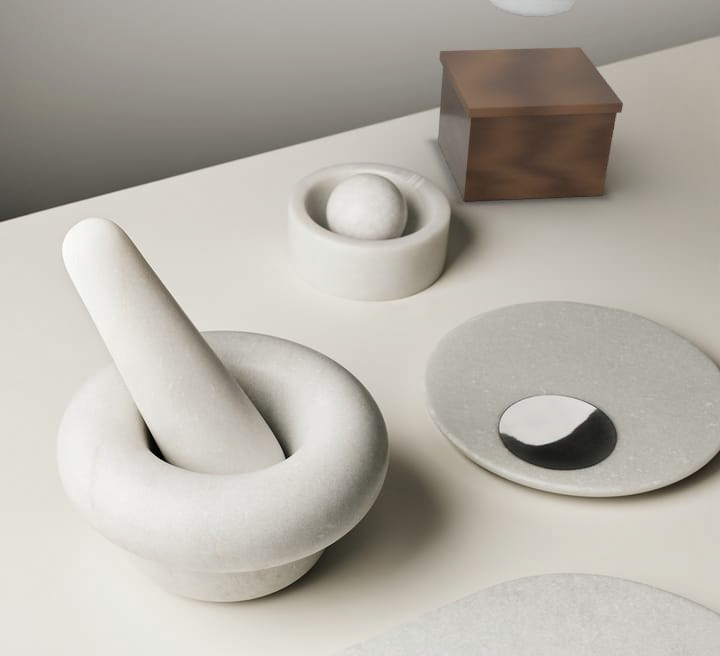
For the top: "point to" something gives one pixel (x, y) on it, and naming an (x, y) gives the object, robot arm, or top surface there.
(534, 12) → the bath foam
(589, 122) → the walnut box
